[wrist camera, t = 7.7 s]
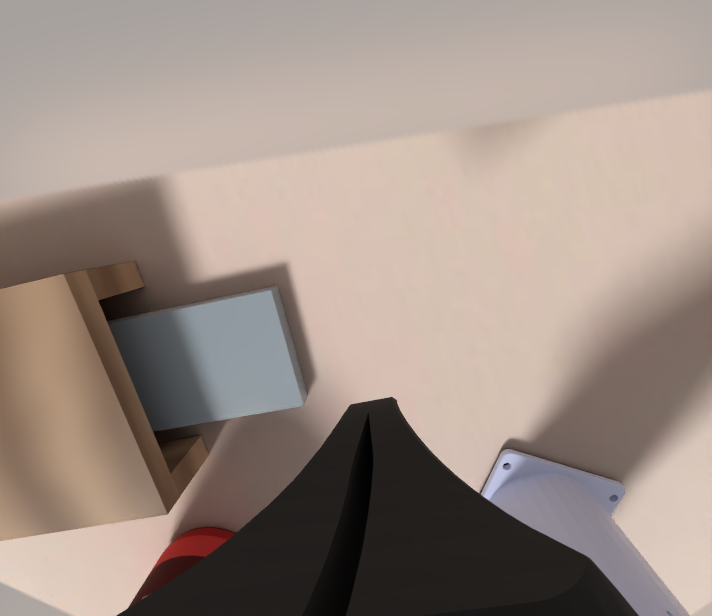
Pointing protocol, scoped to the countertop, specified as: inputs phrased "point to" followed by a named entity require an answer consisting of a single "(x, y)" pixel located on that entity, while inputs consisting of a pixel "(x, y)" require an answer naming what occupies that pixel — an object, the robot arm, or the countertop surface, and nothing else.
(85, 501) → the brown wooden block
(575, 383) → the countertop surface
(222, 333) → the tile
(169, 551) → the canned food
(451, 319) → the countertop surface
